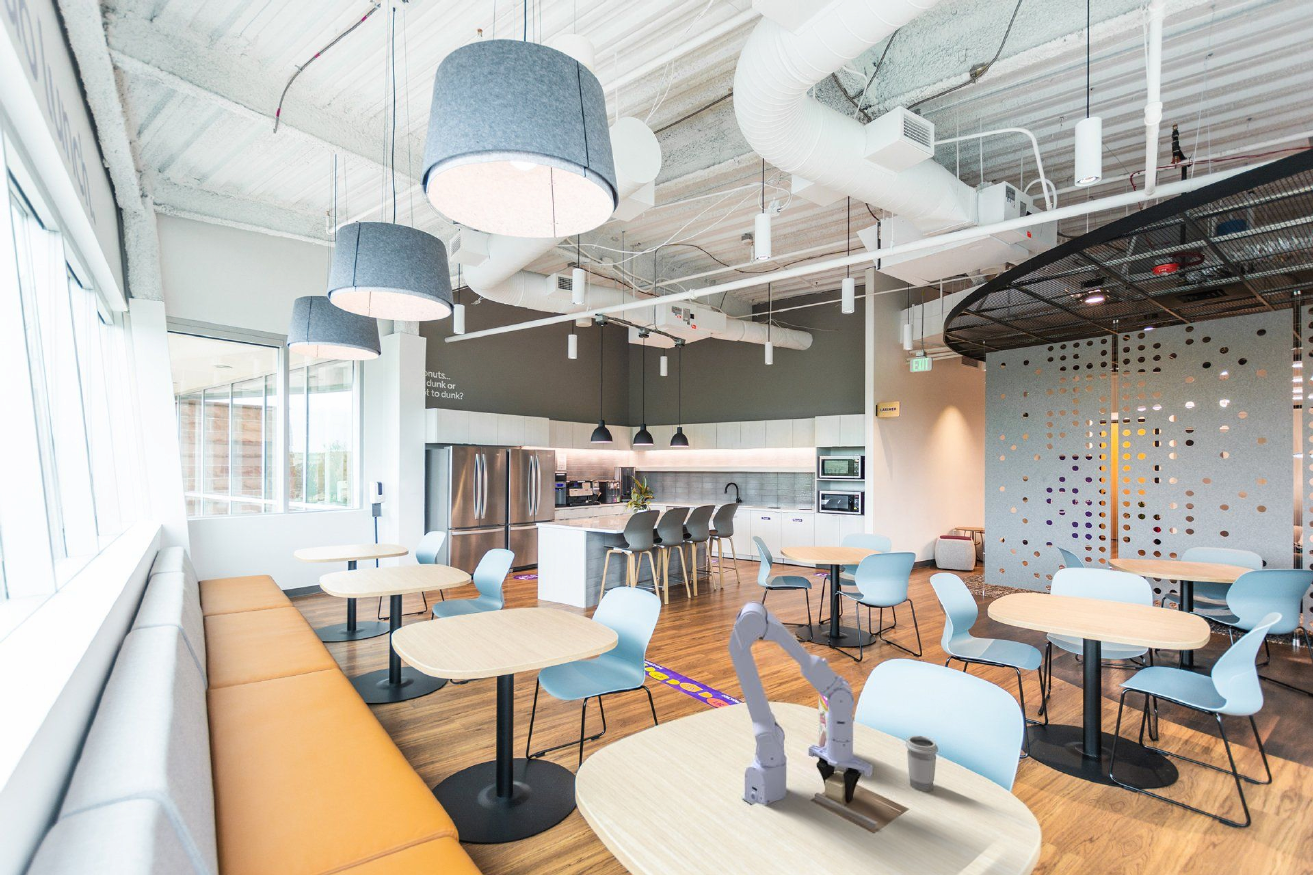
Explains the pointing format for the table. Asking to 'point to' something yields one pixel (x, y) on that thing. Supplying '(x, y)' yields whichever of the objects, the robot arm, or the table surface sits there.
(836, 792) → the block
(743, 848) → the table surface
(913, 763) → the cup
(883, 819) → the walnut board
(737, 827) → the table surface
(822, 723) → the candy bar box
